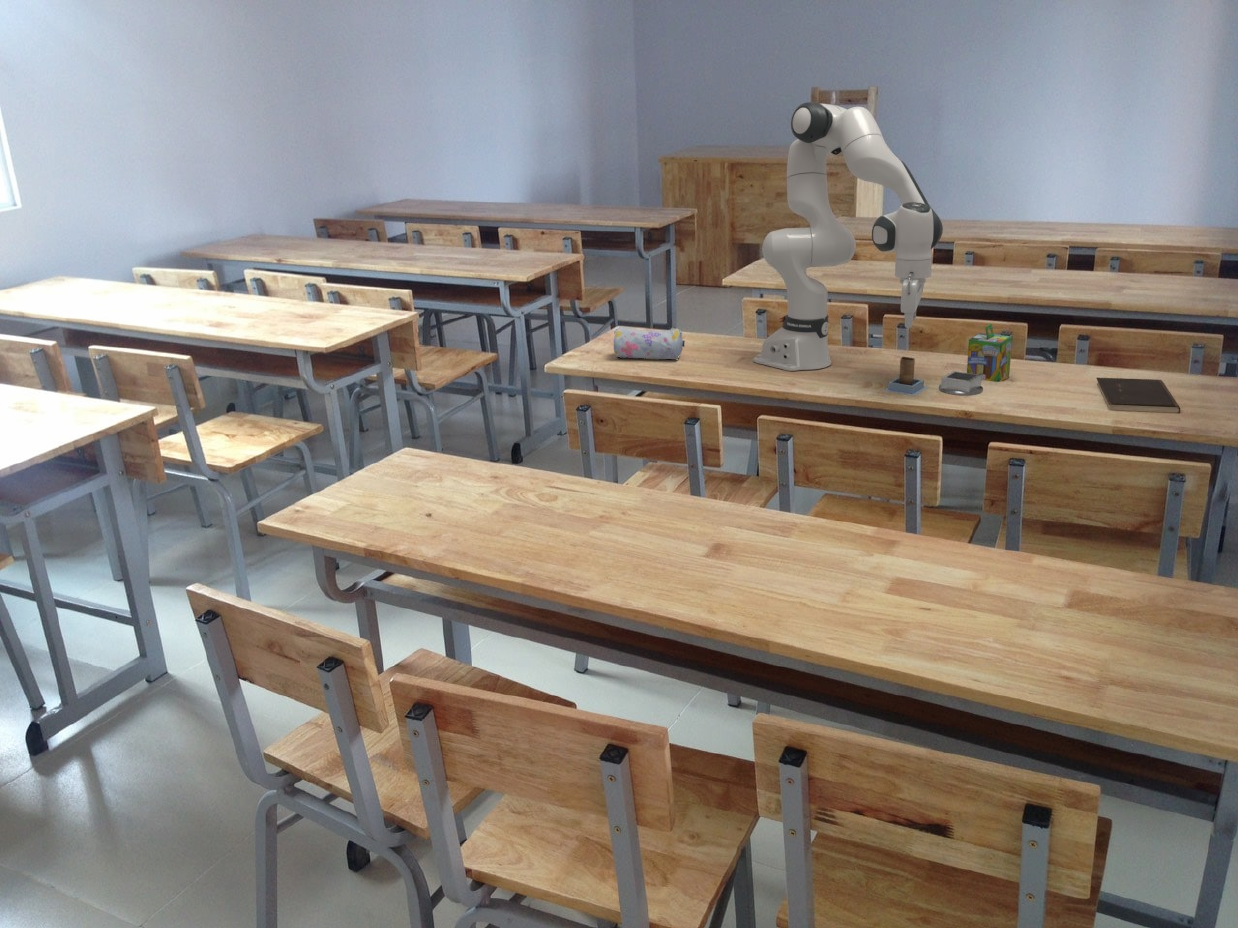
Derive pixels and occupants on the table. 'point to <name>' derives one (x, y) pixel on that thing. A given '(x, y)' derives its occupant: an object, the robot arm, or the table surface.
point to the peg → (906, 371)
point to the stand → (906, 387)
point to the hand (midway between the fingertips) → (910, 323)
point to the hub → (961, 384)
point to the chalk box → (990, 355)
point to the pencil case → (648, 343)
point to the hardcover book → (1137, 395)
